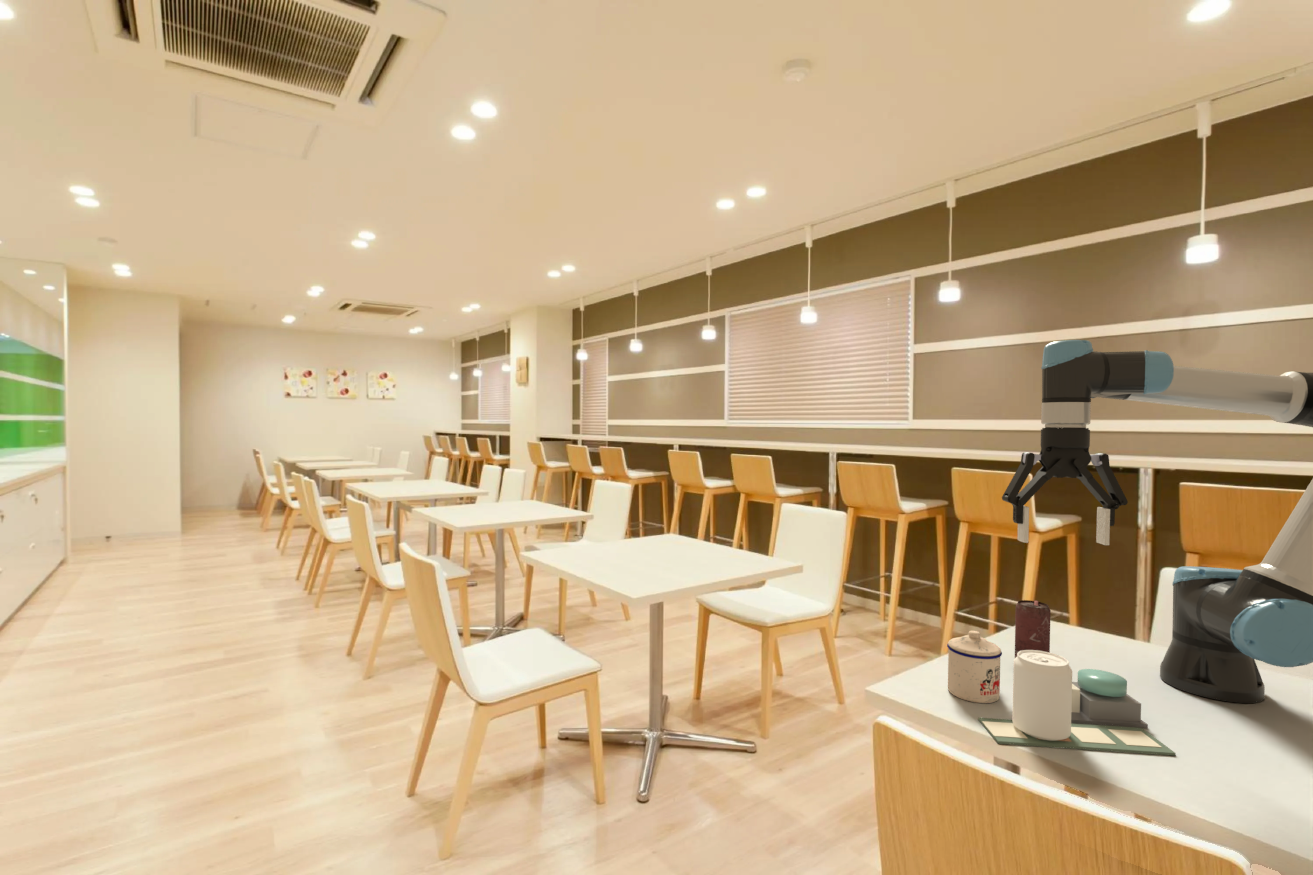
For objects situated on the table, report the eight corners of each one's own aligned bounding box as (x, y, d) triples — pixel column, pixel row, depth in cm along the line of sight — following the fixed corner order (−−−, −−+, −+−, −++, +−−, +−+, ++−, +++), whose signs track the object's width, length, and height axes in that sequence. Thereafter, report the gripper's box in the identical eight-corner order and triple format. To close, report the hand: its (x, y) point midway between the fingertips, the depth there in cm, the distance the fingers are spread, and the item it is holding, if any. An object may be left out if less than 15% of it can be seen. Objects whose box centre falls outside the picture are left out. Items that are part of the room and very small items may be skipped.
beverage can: (1050, 748, 96) (1052, 670, 96) (1001, 725, 104) (1002, 653, 103) (1081, 736, 100) (1083, 662, 100) (1031, 715, 107) (1033, 645, 107)
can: (1049, 669, 129) (1050, 601, 129) (1048, 679, 124) (1050, 609, 124) (1015, 663, 132) (1016, 597, 132) (1013, 673, 127) (1015, 604, 127)
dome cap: (1111, 697, 113) (1111, 670, 113) (1135, 715, 106) (1136, 686, 106) (1069, 695, 114) (1069, 667, 114) (1090, 712, 107) (1091, 683, 107)
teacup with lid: (989, 709, 111) (990, 643, 110) (937, 692, 117) (939, 630, 117) (1014, 690, 119) (1015, 629, 118) (964, 675, 125) (965, 618, 125)
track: (1141, 730, 103) (1141, 727, 103) (1175, 755, 96) (1175, 752, 96) (978, 719, 107) (978, 716, 107) (997, 743, 99) (998, 740, 99)
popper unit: (1111, 701, 114) (1112, 675, 114) (1147, 727, 104) (1148, 699, 104) (1029, 696, 116) (1030, 671, 116) (1057, 722, 106) (1058, 694, 106)
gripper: (1126, 427, 116) (1123, 541, 117) (984, 425, 120) (982, 536, 120) (1153, 427, 109) (1150, 548, 109) (1001, 425, 112) (998, 544, 113)
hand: (1062, 542), depth 115 cm, fingers open, 13 cm apart
